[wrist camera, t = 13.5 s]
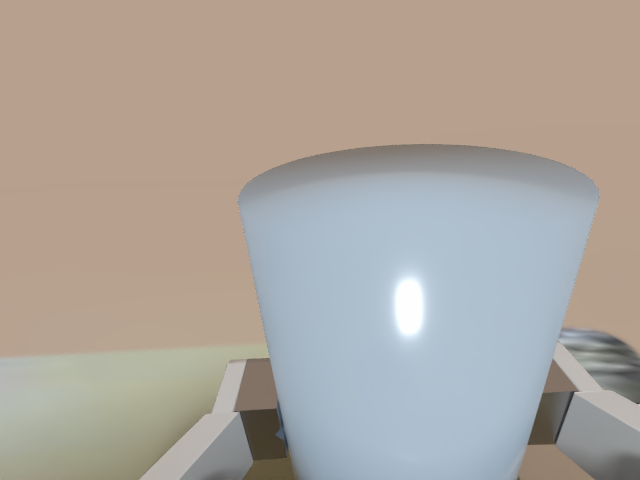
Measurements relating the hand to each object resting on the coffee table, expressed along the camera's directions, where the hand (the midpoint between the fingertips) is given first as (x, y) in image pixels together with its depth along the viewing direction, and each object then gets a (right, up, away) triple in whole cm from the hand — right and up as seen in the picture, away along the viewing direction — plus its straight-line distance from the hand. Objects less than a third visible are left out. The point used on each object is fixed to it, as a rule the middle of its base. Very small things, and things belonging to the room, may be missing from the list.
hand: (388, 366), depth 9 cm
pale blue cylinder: (+1, -6, +2) cm, 6 cm away
